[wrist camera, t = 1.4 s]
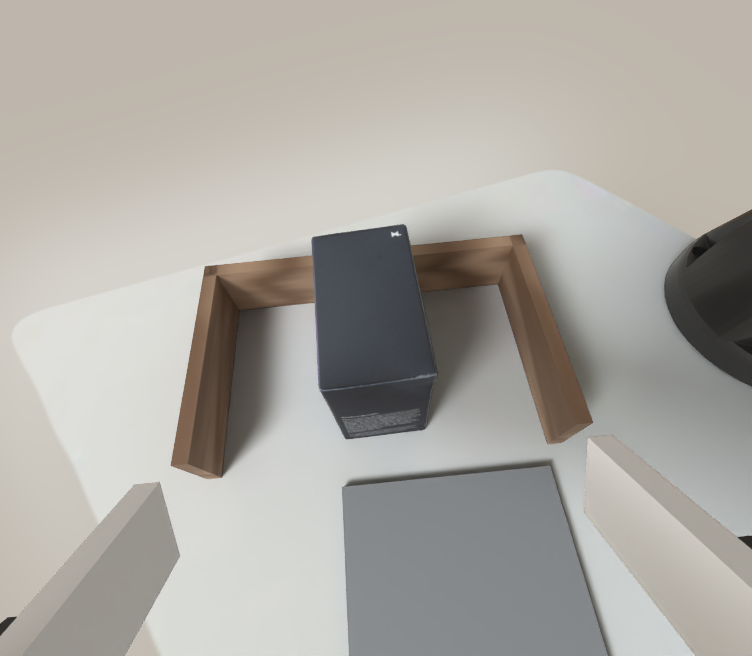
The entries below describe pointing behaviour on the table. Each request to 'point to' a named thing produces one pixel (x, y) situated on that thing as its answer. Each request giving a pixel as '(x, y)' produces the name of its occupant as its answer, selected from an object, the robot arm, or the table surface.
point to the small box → (372, 332)
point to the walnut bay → (296, 286)
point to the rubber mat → (465, 568)
